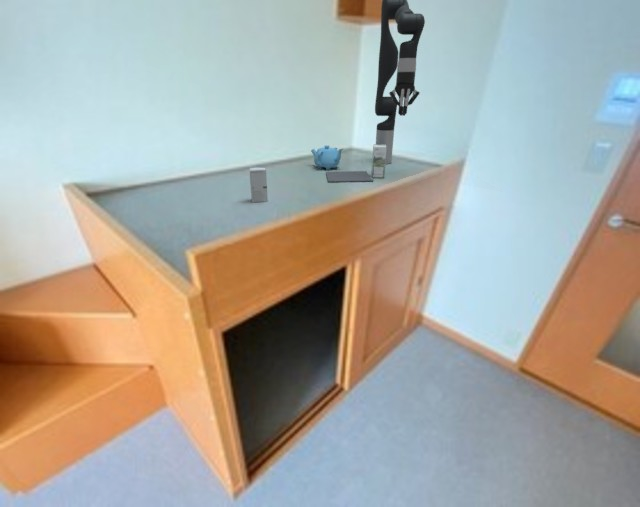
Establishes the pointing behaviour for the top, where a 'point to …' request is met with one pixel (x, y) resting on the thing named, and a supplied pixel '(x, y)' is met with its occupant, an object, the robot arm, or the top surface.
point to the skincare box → (258, 184)
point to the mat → (348, 176)
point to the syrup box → (378, 161)
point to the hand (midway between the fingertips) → (402, 115)
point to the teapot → (327, 157)
